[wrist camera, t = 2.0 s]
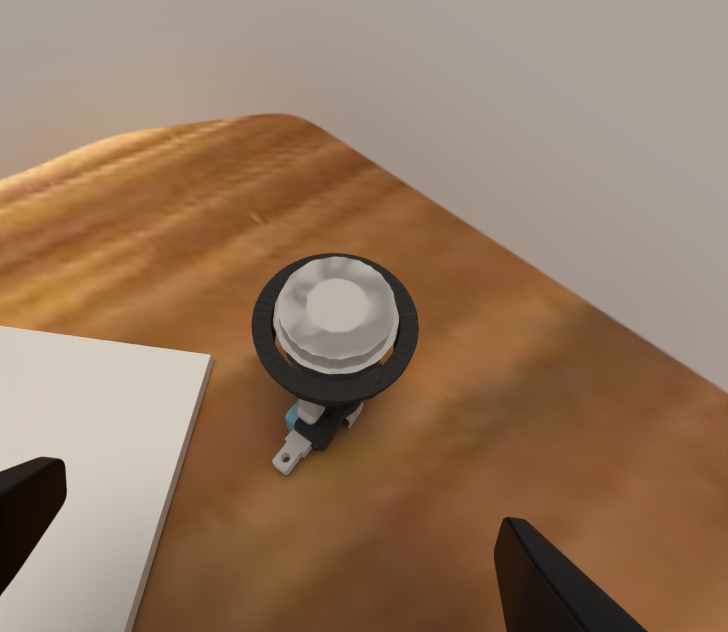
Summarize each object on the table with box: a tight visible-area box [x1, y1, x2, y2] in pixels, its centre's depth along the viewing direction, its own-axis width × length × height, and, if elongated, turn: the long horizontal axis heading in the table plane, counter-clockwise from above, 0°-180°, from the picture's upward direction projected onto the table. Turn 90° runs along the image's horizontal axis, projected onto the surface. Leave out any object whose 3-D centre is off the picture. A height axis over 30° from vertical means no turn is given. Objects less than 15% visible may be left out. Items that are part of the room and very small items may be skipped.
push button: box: [252, 253, 419, 475], centre depth 17 cm, size 7×5×10 cm
